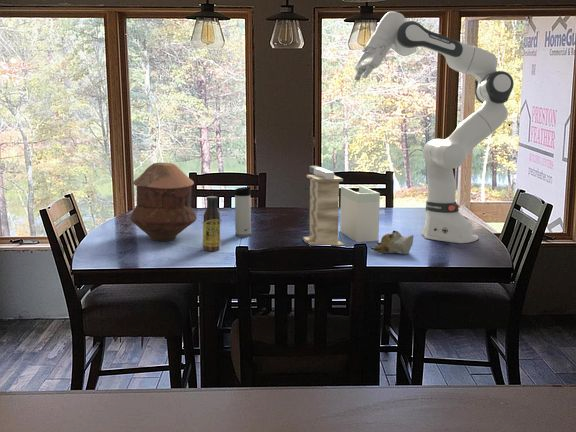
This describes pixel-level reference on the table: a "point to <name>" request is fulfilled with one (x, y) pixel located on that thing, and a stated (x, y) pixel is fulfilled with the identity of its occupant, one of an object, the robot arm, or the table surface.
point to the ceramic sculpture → (394, 243)
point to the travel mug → (243, 212)
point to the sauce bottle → (211, 225)
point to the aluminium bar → (321, 172)
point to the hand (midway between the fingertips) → (360, 78)
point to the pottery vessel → (163, 202)
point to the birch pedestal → (324, 211)
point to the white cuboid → (360, 214)
